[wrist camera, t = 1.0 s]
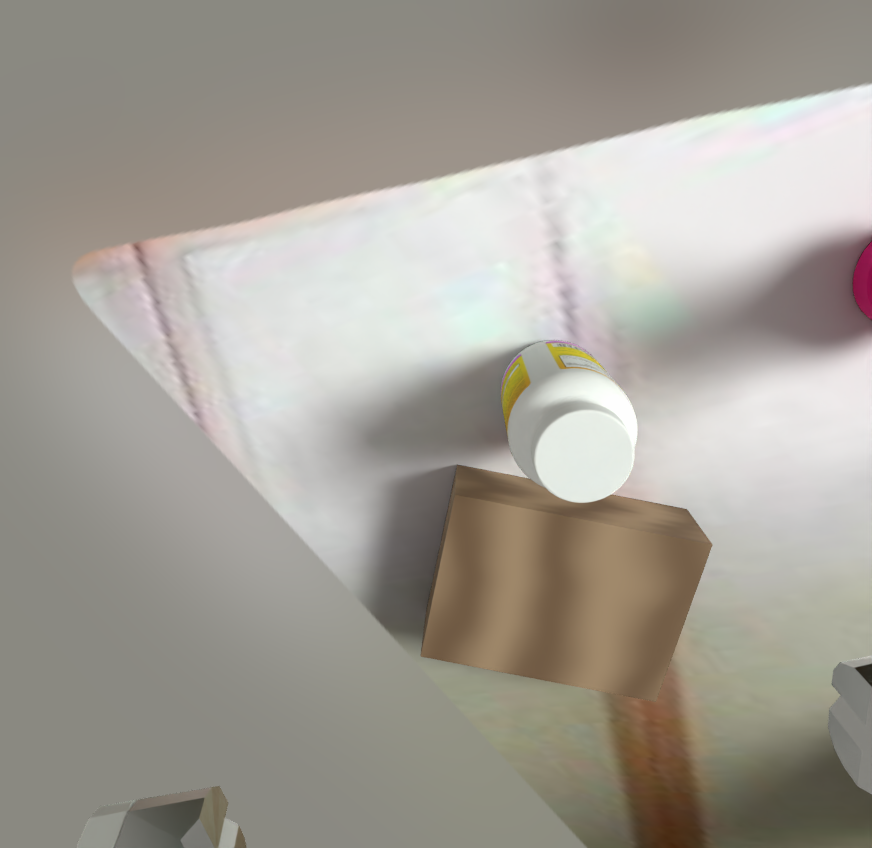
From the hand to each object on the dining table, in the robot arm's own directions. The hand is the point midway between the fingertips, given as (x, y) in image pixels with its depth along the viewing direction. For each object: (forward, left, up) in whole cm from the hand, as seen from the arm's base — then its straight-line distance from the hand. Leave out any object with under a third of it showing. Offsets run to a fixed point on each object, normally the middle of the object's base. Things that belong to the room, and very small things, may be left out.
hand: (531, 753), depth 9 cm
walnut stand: (-8, +16, -34) cm, 39 cm away
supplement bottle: (-5, +3, -35) cm, 35 cm away
